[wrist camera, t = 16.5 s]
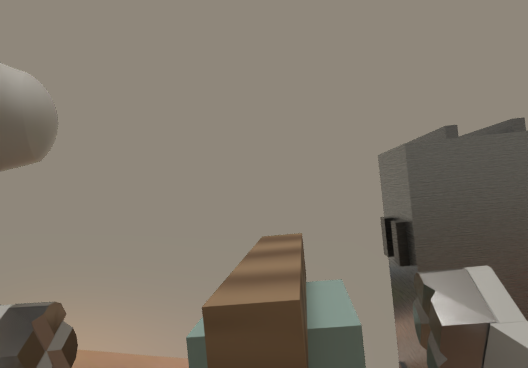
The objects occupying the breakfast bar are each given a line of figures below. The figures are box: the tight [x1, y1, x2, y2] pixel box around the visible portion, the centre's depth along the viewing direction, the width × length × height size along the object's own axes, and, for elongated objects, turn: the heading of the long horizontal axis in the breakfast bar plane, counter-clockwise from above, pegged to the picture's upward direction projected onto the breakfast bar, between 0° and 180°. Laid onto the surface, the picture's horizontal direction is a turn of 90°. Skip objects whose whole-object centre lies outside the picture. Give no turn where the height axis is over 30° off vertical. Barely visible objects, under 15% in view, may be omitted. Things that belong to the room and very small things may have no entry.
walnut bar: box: [202, 233, 309, 368], centre depth 23 cm, size 20×3×3 cm, turn 175°
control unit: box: [378, 118, 528, 368], centre depth 39 cm, size 12×13×27 cm
